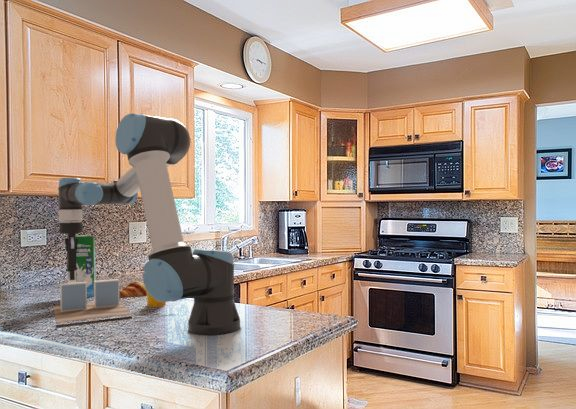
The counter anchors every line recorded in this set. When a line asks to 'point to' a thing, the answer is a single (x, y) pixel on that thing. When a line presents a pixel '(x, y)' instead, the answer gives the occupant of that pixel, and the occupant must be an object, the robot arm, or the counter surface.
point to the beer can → (153, 301)
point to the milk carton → (86, 262)
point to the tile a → (73, 296)
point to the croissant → (133, 290)
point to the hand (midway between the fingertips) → (72, 289)
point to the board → (90, 314)
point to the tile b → (106, 293)
